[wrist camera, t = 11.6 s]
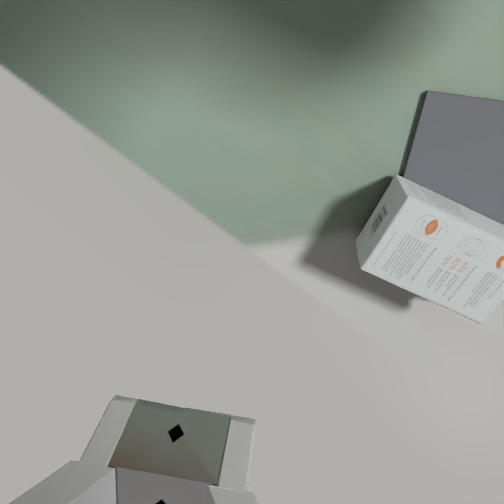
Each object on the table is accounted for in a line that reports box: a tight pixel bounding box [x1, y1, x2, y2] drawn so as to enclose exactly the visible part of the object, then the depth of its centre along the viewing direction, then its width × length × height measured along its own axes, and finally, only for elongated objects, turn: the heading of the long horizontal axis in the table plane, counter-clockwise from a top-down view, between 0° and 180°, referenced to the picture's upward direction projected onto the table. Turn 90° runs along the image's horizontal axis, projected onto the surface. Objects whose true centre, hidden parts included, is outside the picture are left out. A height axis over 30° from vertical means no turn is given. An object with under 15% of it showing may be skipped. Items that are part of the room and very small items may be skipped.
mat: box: [402, 91, 504, 225], centre depth 44 cm, size 18×13×1 cm
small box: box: [355, 175, 504, 324], centre depth 43 cm, size 8×6×13 cm
